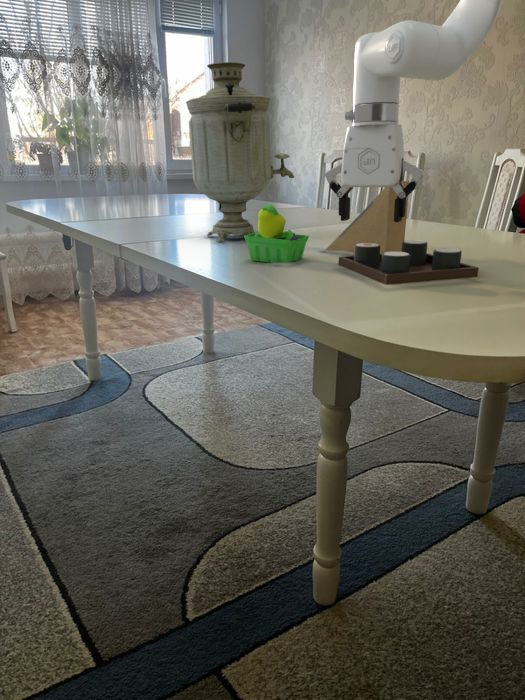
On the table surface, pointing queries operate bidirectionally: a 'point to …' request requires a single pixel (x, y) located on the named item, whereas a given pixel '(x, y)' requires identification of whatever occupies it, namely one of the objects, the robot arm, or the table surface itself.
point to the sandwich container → (375, 226)
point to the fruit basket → (274, 239)
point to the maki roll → (367, 254)
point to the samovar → (231, 147)
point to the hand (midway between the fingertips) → (370, 220)
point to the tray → (414, 273)
